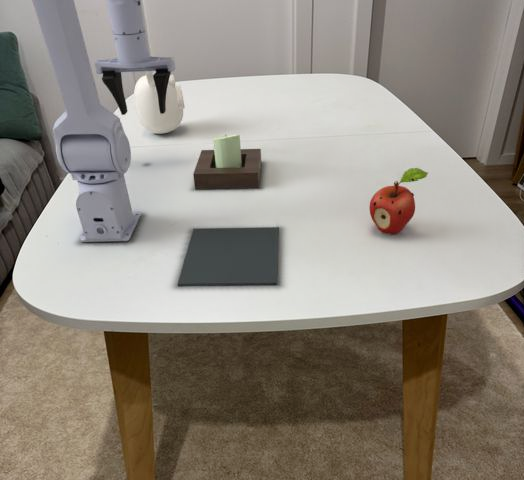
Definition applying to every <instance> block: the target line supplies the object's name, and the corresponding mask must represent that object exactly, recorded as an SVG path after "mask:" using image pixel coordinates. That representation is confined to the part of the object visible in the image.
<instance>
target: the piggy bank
mask: <svg viewBox="0 0 524 480" xmlns="http://www.w3.org/2000/svg"><path fill="white" fill-rule="evenodd" d="M149 57H153V56H152V55H149ZM144 72H145V74H144V75H143V76H141V77H140V78H139V79H138V80H137V81H136V83H135V86H134V90H133V103H134V111H135V115H136V118H137V120H138V123H140V125H141V126H142V127H143V128H144V129H145V130H146V131H148V132H150V133H153V134H157V135H160V134H161V135H163V134H167V133H170V132H173V131H174V130H175V129H178V127H179V126H180V124H181V123H182V121H183V118H184V109H185V100H184V94H183V91H182V87H181V85H176V79H175V75H174V74H170V78H169V82H168V86H167V92H166V111H165V113H164V114H160V110H159V102H158V95H157V90H156V86H155V82H154V79H153V75H154V74H155V73H156V71H144Z"/></svg>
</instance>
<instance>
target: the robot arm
mask: <svg viewBox="0 0 524 480" xmlns="http://www.w3.org/2000/svg"><path fill="white" fill-rule="evenodd" d="M31 1H32V5H33V9H34V10H35V14H36V17H37V21H38V24H39V28H40V30H41V35H42V38H43V40H44V44H45V47H46V50H47V52H48V58H49V60H50V63H51V64H50V65H51V67H52V70H53V73H54V77H55V80H56V83H57V87H58V89H59V93H60V96H61V100H62V103H63V106H64V109H65V111H64V112H63V113H62V114H61V115H60V116H59V117H57V119H56V121H55V122H54V124H53V128H52V135H53V138H54V143H55V154H56V159H57V161H58V164H59V165H60V167H61V168H62V169H63V170H64V172H65V173H66V174H69V175H70V176H71V179H72V181H77V184H78V190H79V191H78V195H77V197H76V201H75V208H76V212H77V215H78V217H79V221H80V224H81V225H80V226H81V228H82V232H83V233H82V235H81V236H80V238H79V240H80V242H82V243H85V242H86V243H89V242H91V243H93V242H94V243H95V242H96V243H98V242H128V241H130V239H131V237H132V235H133V233H134V231H135V229H136V226H137V225H138V222H139V220H140V218H141V216H142V213H141V212H140V211H133V208H132V204H131V199H130V196H129V191H128V185H127V182H126V177H125V174H126V173H127V172H128V170H129V168H130V167H131V161H132V149H131V145H130V141H129V138H128V136H127V135H126V132H125V129H124V127H123V124H122V122H121V118H120V117H119V116H117V114H115V113H114V112H113V111H110V110H109V109H107V108H106V107H105V106H104V105H102V104H101V101H100V97H99V92H98V89H97V85H96V81H95V77H94V74H93V73H94V72H93V69H92V65H91V62H90V58H89V53H88V51H87V50H88V49H87V47H86V42H85V38H84V35H83V31H82V27H81V24H80V20H79V15H78V11H77V7H76V3H75V0H31ZM105 2H106V6H107V11H108V16H109V21H110V26H111V31H112V37H113V42H114V46H115V51H116V56H117V57H115V58H108V59H97V60H95V61H94V63H93V65H94V69H95V72H96V74H97V75H102V77H101V81H102V84H104V85H105V86H106V88H107V89H108V91H109V92H110V94H111V95H112V97H113V99H114V100H115V103H116V105H117V107H118V109H119V112H120V115H122V116H126V114H127V113H128V106H127V105H128V104H127V101H126V97H125V93H124V86H123V78H122V77H123V76H122V73H137V72H138V73H139V72H141V73H142V72H145V71H155V72H156V73H155V74H154V75H153V79H154V82H155V86H156V90H157V95H158V102H159V110H160V114H164V113H165V111H166V92H167V86H168V82H169V78H170V75H172V72H174V71H175V70H176V63H175V62H176V61H175V57H173V56H172V57H171V56H170V57H169V56H168V57H167V56H166V57H165V56H152V57H150V53H149V52H150V51H149V46H148V40H147V33H146V28H145V21H144V15H143V10H142V9H143V8H142V3H141V0H105Z"/></svg>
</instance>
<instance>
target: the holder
mask: <svg viewBox="0 0 524 480" xmlns="http://www.w3.org/2000/svg"><path fill="white" fill-rule="evenodd" d="M241 162H242V167H232V168H216V162H215V152H214V149H201V151H200V154H199V156H198V160H197V162H196V165H195V168H194V171H193V173H192V175H193V183H194V189H195V190H227V189H228V190H229V189H231V190H235V189H236V190H237V189H259V188H260V180H261V171H262V148H241Z"/></svg>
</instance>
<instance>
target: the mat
mask: <svg viewBox="0 0 524 480" xmlns="http://www.w3.org/2000/svg"><path fill="white" fill-rule="evenodd" d="M279 232H280V227H279V226H273V227H268V226H265V227H262V226H261V227H211V228H210V227H208V228H207V227H206V228H205V227H204V228H203V227H202V228H193V229H192V233H191V237H190V240H189V243H188V246H187V249H186V254H185V257H184V260H183V264H182V267H181V269H180V273H179V277H178V280H177V286H179V287H186V286H187V287H190V286H191V287H192V286H194V287H197V286H200V287H201V286H277V285H278V270H279V269H278V267H279V239H280V238H279V237H280V233H279Z"/></svg>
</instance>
